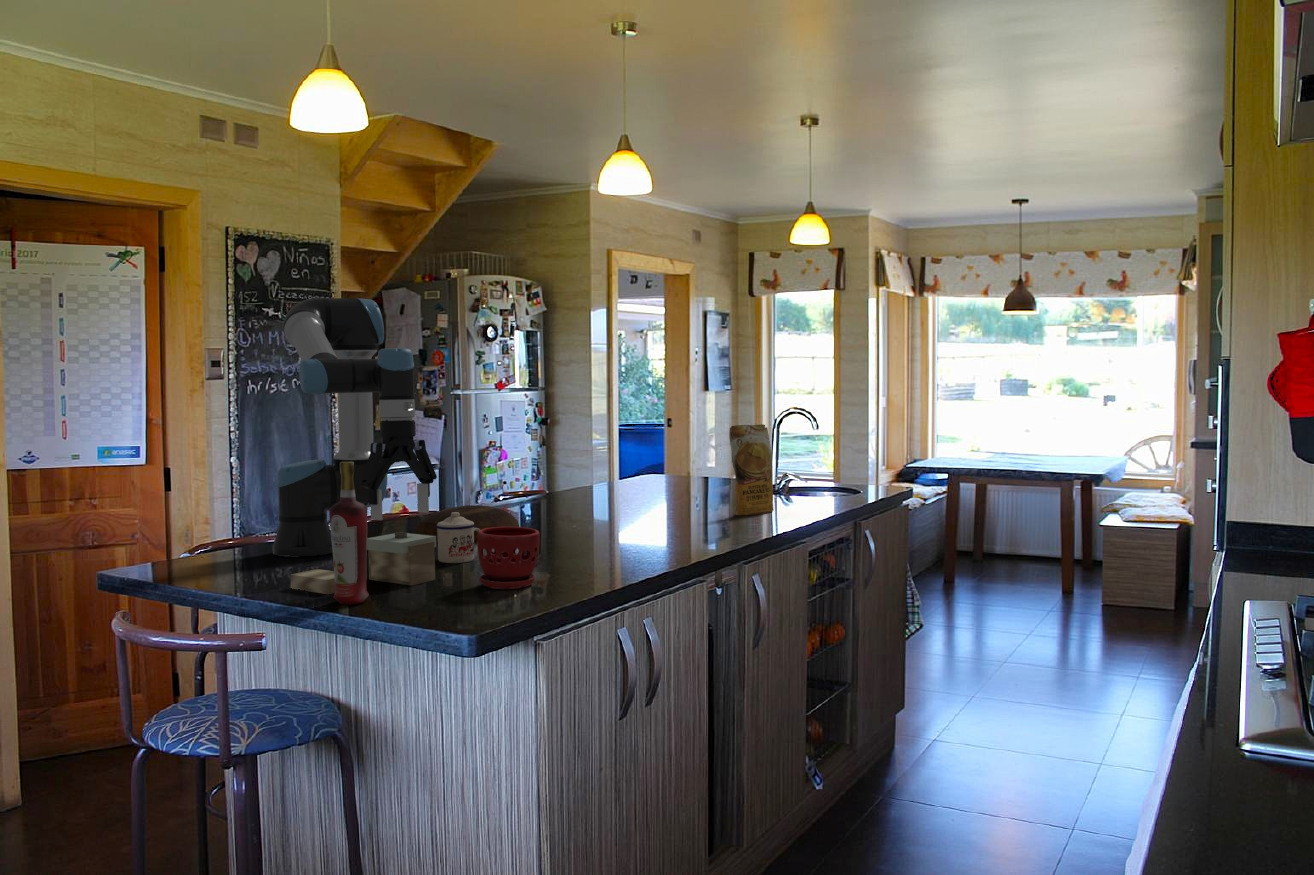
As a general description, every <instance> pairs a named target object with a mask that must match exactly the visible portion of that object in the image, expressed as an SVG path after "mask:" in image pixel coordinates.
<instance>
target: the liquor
mask: <svg viewBox="0 0 1314 875" xmlns="http://www.w3.org/2000/svg"><path fill="white" fill-rule="evenodd" d="M340 473H341V496H340V502H338V503H336V504H334V505H333V506H332V507H331V508H330V509H329V510H328V512H329V523H330V524H329V525H330V526H329V528H330V530H331V540H332V550H333V553H332V559H333V560H332V561H333V571H334V577H335V593H333V596H332V598H333V599H335V601H337V602H338V603H339V604H340V605H344V606H347V605H348V606H349V605H351V606H352V605H353V606H354V605H358V604H362V603H364V601H365V600H366V599H367V598H368V597H369V596H370V594H369V592H368V590H367V551H368V550H367V538H368V507H366V506H365V505H364V504H363V503H360V502H358V501H356V497H355V489H354V481H353V475H354V462H340Z"/></svg>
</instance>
